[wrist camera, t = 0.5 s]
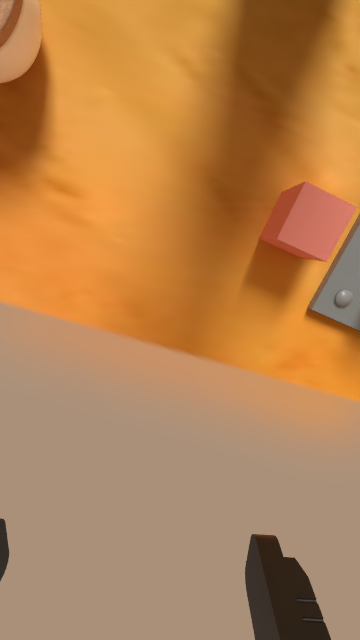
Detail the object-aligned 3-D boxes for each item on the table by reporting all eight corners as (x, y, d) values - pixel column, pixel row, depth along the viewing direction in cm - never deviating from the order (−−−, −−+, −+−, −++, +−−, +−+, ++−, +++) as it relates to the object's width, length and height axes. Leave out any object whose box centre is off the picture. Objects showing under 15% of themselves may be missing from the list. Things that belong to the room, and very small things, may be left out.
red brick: (281, 192, 30) (305, 181, 24) (323, 212, 31) (357, 206, 25) (259, 238, 31) (276, 238, 26) (300, 257, 32) (326, 261, 26)
